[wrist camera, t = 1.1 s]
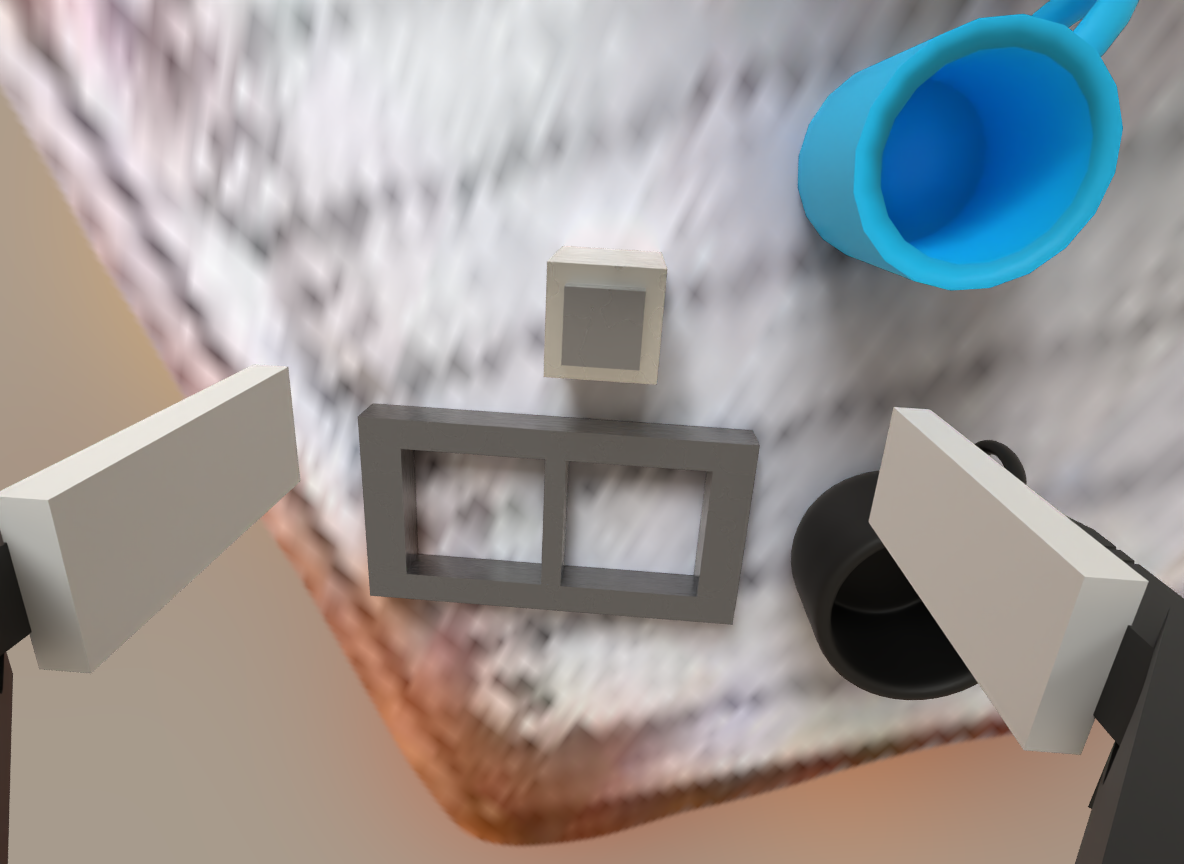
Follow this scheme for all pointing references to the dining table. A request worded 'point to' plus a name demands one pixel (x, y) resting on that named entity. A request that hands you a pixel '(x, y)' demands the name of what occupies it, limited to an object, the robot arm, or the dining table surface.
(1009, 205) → the mug
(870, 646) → the mug
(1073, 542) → the robot arm
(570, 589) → the grey window frame
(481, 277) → the dining table surface
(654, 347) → the beige square peg
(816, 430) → the dining table surface
